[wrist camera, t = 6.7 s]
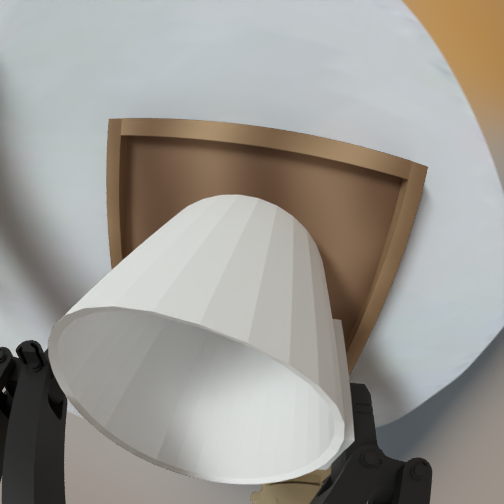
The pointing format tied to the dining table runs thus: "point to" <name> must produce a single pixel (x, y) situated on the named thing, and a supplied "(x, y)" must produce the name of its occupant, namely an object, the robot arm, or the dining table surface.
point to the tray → (272, 198)
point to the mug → (211, 347)
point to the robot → (291, 489)
